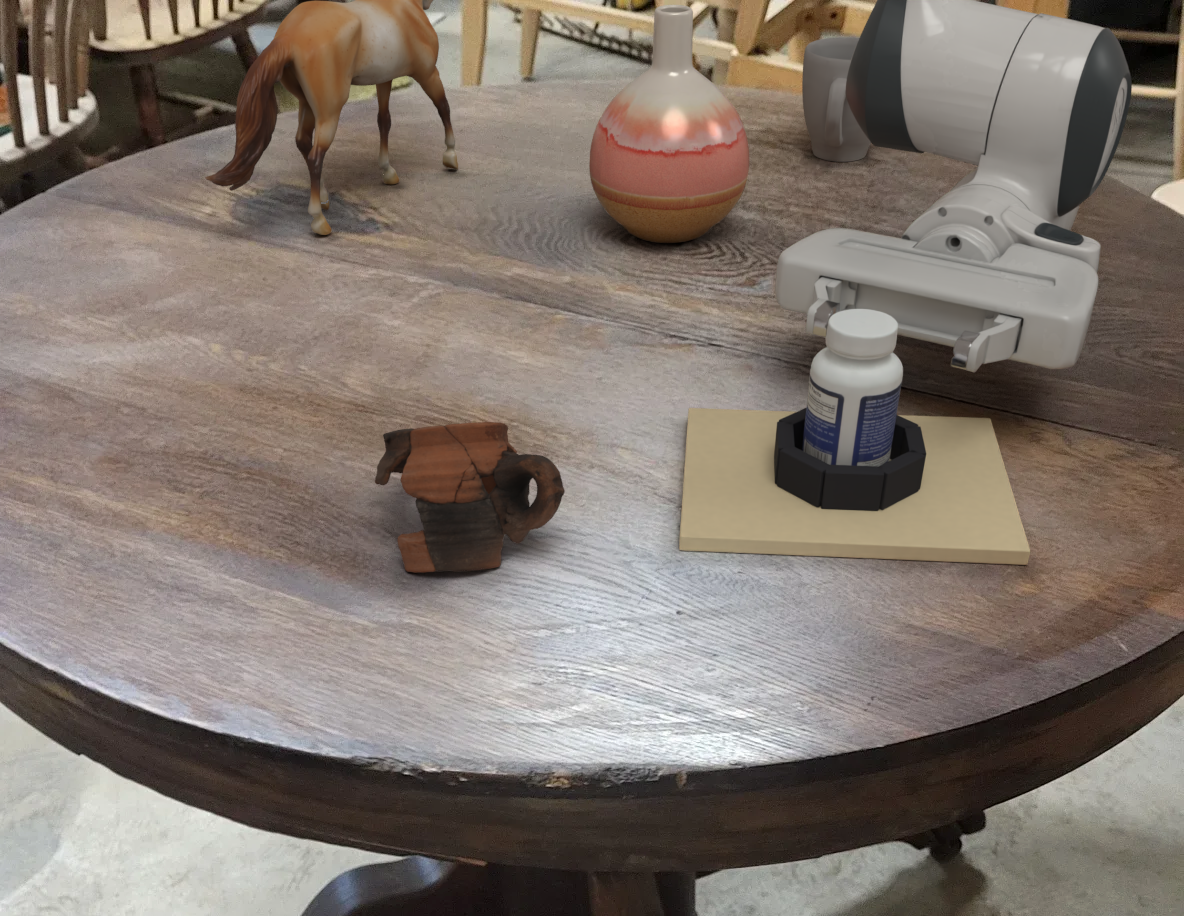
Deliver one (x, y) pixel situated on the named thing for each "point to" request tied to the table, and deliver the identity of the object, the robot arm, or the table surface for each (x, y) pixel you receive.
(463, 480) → the pottery mug
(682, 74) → the vase
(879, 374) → the pill bottle
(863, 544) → the socket pad
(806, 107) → the mug
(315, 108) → the horse figurine
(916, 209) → the table surface
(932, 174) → the table surface
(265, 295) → the table surface
